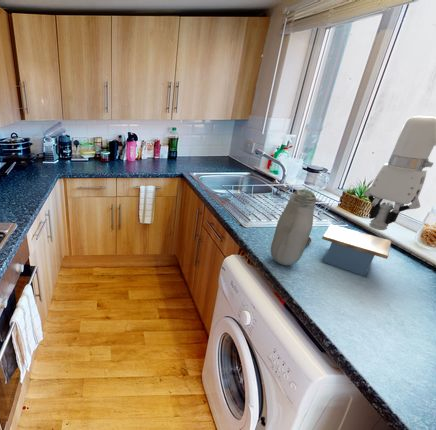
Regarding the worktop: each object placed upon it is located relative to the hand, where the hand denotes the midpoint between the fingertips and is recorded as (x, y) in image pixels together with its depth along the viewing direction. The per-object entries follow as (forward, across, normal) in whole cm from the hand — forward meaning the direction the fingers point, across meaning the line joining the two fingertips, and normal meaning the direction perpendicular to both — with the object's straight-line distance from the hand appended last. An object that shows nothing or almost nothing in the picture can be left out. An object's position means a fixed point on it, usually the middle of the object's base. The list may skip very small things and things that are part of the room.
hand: (380, 219), depth 89 cm
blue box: (+22, +6, -8) cm, 24 cm away
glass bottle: (+22, +17, +14) cm, 31 cm away
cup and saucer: (+22, +26, -5) cm, 34 cm away
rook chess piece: (+3, 0, 0) cm, 3 cm away
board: (+13, +6, -8) cm, 16 cm away
